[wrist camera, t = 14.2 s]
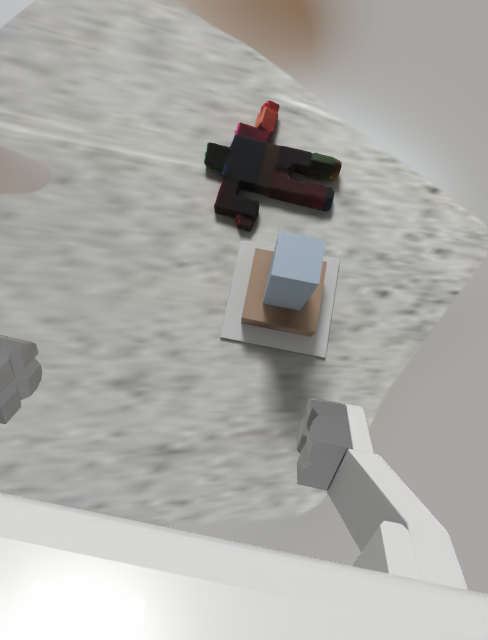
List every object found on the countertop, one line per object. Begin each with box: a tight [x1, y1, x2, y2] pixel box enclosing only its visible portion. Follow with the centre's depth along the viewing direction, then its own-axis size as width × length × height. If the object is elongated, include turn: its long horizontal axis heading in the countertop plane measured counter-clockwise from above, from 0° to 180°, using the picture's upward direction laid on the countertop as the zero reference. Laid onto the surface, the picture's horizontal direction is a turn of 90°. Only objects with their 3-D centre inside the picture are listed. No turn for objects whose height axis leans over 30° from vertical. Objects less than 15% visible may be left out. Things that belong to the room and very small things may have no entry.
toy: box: [204, 101, 341, 232], centre depth 44 cm, size 15×16×3 cm
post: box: [263, 231, 326, 311], centre depth 34 cm, size 4×4×9 cm
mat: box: [220, 240, 340, 358], centre depth 42 cm, size 12×12×1 cm
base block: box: [241, 248, 327, 337], centre depth 40 cm, size 8×8×3 cm
